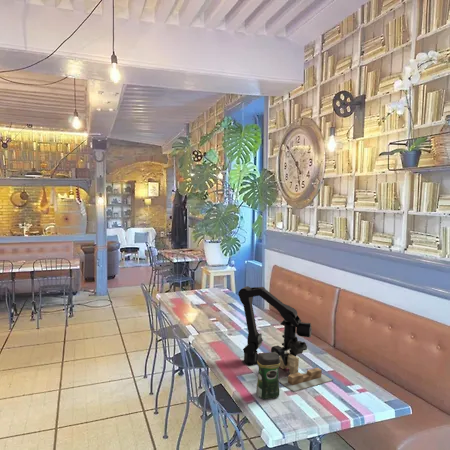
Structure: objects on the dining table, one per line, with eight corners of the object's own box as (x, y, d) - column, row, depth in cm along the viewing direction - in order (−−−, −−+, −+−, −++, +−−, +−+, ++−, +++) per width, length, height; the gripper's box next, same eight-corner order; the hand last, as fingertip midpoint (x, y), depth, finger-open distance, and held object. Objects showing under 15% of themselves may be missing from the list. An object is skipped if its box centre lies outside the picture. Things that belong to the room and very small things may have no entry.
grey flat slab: (293, 392, 164) (293, 383, 163) (276, 380, 174) (277, 372, 174) (332, 380, 176) (333, 372, 175) (314, 370, 186) (315, 362, 186)
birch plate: (293, 375, 180) (294, 359, 179) (279, 366, 189) (279, 351, 189) (298, 374, 181) (298, 358, 181) (283, 365, 191) (284, 350, 190)
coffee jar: (273, 389, 165) (275, 348, 164) (281, 398, 158) (283, 355, 157) (253, 392, 163) (255, 350, 162) (260, 401, 155) (262, 357, 154)
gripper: (285, 342, 173) (284, 375, 173) (315, 336, 182) (314, 367, 183) (270, 335, 182) (269, 366, 183) (300, 329, 192) (298, 359, 192)
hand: (288, 365), depth 185 cm, fingers open, 4 cm apart
